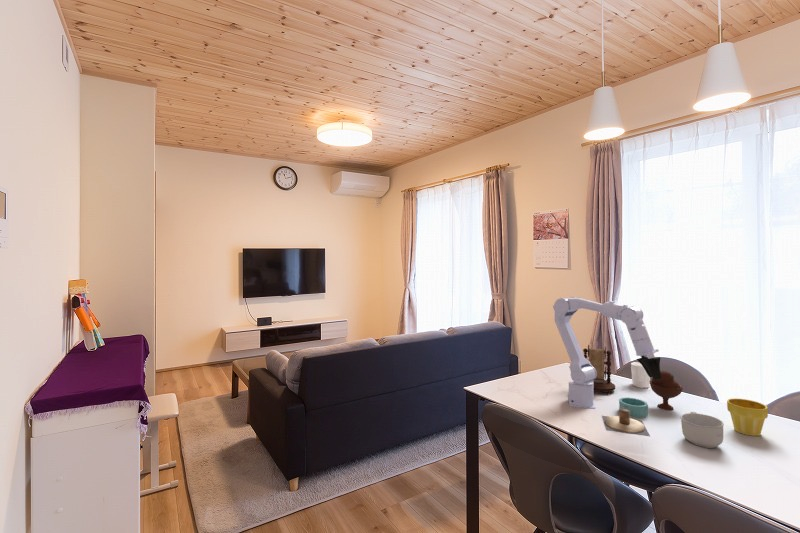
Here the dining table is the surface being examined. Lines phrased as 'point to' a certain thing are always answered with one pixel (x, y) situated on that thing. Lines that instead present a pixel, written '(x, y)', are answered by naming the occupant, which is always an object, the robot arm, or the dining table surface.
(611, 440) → the dining table surface
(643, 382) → the white cup
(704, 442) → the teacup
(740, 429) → the plant pot
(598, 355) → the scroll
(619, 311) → the robot arm
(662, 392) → the ice cream bowl
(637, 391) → the dining table surface
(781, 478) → the dining table surface
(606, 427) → the mat
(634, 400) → the bowl
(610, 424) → the lid
